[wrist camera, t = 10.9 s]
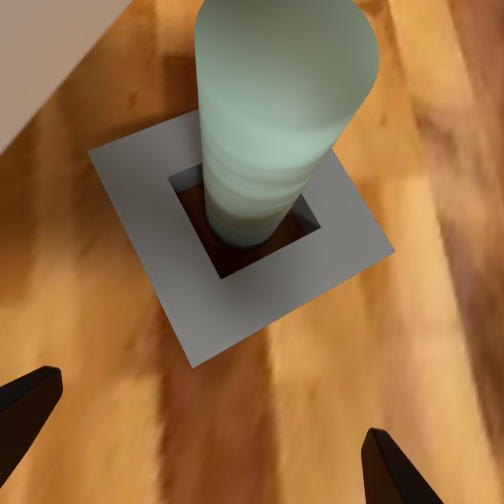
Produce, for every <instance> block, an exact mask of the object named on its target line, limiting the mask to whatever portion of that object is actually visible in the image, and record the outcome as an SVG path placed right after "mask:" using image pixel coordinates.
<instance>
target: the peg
mask: <svg viewBox="0 0 504 504" xmlns="http://www.w3.org/2000/svg"><path fill="white" fill-rule="evenodd" d="M194 42H195V57H196V72H197V87H198V102H199V118H200V133H201V148H202V163H203V178H204V193H205V208H206V222H207V227H208V230H209V232H210V234H211V236H212V237H213V238H214V240H215V241H216V242H217V243H218V244H220V245H221V246H223V247H224V248H226V249H228V250H231V251H235V252H249V251H253V250H256V249H258V248H260V247H261V246H263V245H264V244H265V243H266V242H267V241H268V240H269V239H270V237H271V236H272V235H273V233H274V232H275V230H276V229H277V227H278V226H279V224H280V223H281V221H282V220H283V218H284V217H285V215H286V214H287V213H288V211H289V210H290V208H291V207H292V205H293V204H294V202H295V201H296V199H297V198H298V196H299V195H300V194H301V192H302V191H303V189H304V188H305V186H306V185H307V183H308V182H309V180H310V179H311V177H312V176H313V175H314V173H315V172H316V170H317V169H318V167H319V166H320V164H321V163H322V161H323V160H324V158H325V157H326V156H327V154H328V153H329V151H330V150H331V148H332V147H333V145H334V144H335V142H336V141H337V139H338V138H339V136H340V135H341V134H342V132H343V131H344V129H345V128H346V126H347V125H348V123H349V122H350V120H351V119H352V117H353V116H354V115H355V113H356V112H357V110H358V109H359V107H360V106H361V104H362V103H363V101H364V100H365V98H366V97H367V96H368V94H369V92H370V90H371V89H372V87H373V85H374V82H375V80H376V77H377V72H378V68H379V52H378V45H377V41H376V37H375V35H374V32H373V30H372V27H371V26H370V24H369V22H368V20H367V18H366V17H365V16H364V14H363V13H362V11H361V10H360V9H359V8H358V7H357V5H356V4H355V3H354V2H353V1H352V0H205V1H204V2H203V4H202V6H201V8H200V10H199V12H198V15H197V18H196V23H195V30H194Z"/></svg>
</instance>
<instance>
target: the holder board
mask: <svg viewBox="0 0 504 504" xmlns="http://www.w3.org/2000/svg"><path fill="white" fill-rule="evenodd" d="M87 153H88V155H89V157H90V159H91V161H92V163H93V165H94V167H95V170H96V172H97V174H98V176H99V178H100V180H101V182H102V184H103V186H104V188H105V190H106V192H107V194H108V196H109V198H110V200H111V202H112V204H113V206H114V208H115V210H116V212H117V215H118V217H119V219H120V221H121V223H122V225H123V227H124V229H125V231H126V233H127V235H128V237H129V239H130V241H131V243H132V245H133V247H134V249H135V251H136V253H137V255H138V257H139V260H140V262H141V264H142V266H143V268H144V270H145V272H146V274H147V276H148V278H149V280H150V282H151V284H152V286H153V288H154V290H155V292H156V294H157V296H158V298H159V300H160V302H161V305H162V307H163V309H164V311H165V313H166V315H167V317H168V319H169V321H170V323H171V325H172V327H173V329H174V331H175V333H176V335H177V337H178V339H179V341H180V343H181V345H182V347H183V349H184V352H185V354H186V356H187V358H188V360H189V362H190V364H191V366H192V368H194V367H196V366H198V365H199V364H201V363H203V362H205V361H206V360H208V359H210V358H211V357H213V356H215V355H217V354H218V353H220V352H222V351H224V350H225V349H227V348H229V347H231V346H232V345H234V344H236V343H238V342H239V341H241V340H243V339H245V338H246V337H248V336H250V335H252V334H253V333H255V332H257V331H258V330H260V329H262V328H264V327H265V326H267V325H269V324H271V323H272V322H274V321H276V320H278V319H279V318H281V317H283V316H285V315H286V314H288V313H290V312H292V311H293V310H295V309H297V308H298V307H300V306H302V305H304V304H305V303H307V302H309V301H311V300H312V299H314V298H316V297H318V296H319V295H321V294H323V293H325V292H326V291H328V290H330V289H332V288H333V287H335V286H337V285H339V284H340V283H342V282H344V281H345V280H347V279H349V278H351V277H352V276H354V275H356V274H358V273H359V272H361V271H363V270H365V269H366V268H368V267H370V266H372V265H373V264H375V263H377V262H379V261H380V260H382V259H384V258H385V257H387V256H389V255H391V254H392V253H394V252H396V251H395V250H394V248H393V247H392V245H391V243H390V242H389V240H388V238H387V237H386V235H385V234H384V232H383V230H382V229H381V227H380V226H379V224H378V222H377V221H376V219H375V218H374V216H373V214H372V213H371V211H370V209H369V208H368V206H367V205H366V203H365V201H364V200H363V198H362V197H361V195H360V193H359V192H358V190H357V189H356V187H355V185H354V184H353V182H352V181H351V179H350V177H349V176H348V174H347V172H346V171H345V169H344V168H343V166H342V164H341V163H340V161H339V160H338V158H337V156H336V155H335V153H334V152H333V150H332V148H331V150H330V151H329V153H328V154H327V156H326V157H325V158H324V160H323V161H322V163H321V164H320V166H319V167H318V169H317V170H316V172H315V173H314V175H313V176H312V177H311V179H310V180H309V182H308V183H307V185H306V186H305V188H304V189H303V191H302V192H301V194H300V195H299V196H298V198H297V199H296V201H295V202H294V204H293V205H292V207H291V210H292V211H293V213H294V215H295V217H296V218H297V220H298V222H299V223H300V225H301V227H302V229H303V230H304V232H305V234H306V236H305V237H303V238H301V239H299V240H297V241H295V242H293V243H291V244H289V245H287V246H285V247H283V248H281V249H279V250H278V251H276V252H274V253H272V254H270V255H268V256H266V257H264V258H262V259H260V260H258V261H256V262H254V263H252V264H251V265H249V266H247V267H245V268H243V269H241V270H239V271H237V272H235V273H233V274H231V275H229V276H227V277H225V278H224V279H222V280H221V279H220V277H219V275H218V273H217V271H216V269H215V268H214V266H213V264H212V262H211V260H210V258H209V256H208V254H207V252H206V250H205V248H204V247H203V245H202V243H201V241H200V239H199V237H198V235H197V233H196V231H195V229H194V228H193V226H192V224H191V222H190V220H189V218H188V216H187V214H186V212H185V210H184V208H183V207H182V205H181V203H180V201H179V199H178V197H177V195H176V194H177V193H179V192H181V191H184V190H186V189H188V188H191V187H193V186H195V185H197V184H200V183H202V182H204V178H203V163H202V148H201V133H200V118H199V109H197V110H194V111H192V112H189V113H186V114H184V115H181V116H178V117H176V118H173V119H170V120H168V121H165V122H162V123H160V124H157V125H155V126H152V127H149V128H147V129H144V130H141V131H139V132H136V133H133V134H131V135H128V136H126V137H123V138H120V139H118V140H115V141H112V142H110V143H107V144H104V145H102V146H99V147H97V148H94V149H91V150H89V151H87Z"/></svg>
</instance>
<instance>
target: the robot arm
mask: <svg viewBox="0 0 504 504" xmlns="http://www.w3.org/2000/svg"><path fill="white" fill-rule="evenodd" d="M62 392H63V384H62V375H61V370H60V369H59V368H57V367H52V366H43V367H41V368H39V369H37V370H34V371H32V372H30V373H28V374H26V375H24V376H22V377H20V378H18V379H16V380H14V381H12V382H9V383H7V384H5V385H3V386H1V387H0V488H1V487H2V486H3V484H4V483H5V481H6V480H7V479H8V477H9V476H10V475H11V473H12V472H13V471H14V469H15V468H16V466H17V465H18V464H19V462H20V461H21V460H22V458H23V457H24V455H25V454H26V453H27V451H28V450H29V448H30V447H31V445H32V443H33V442H34V440H35V439H36V437H37V435H38V434H39V432H40V430H41V429H42V427H43V425H44V424H45V422H46V421H47V419H48V417H49V416H50V414H51V412H52V411H53V409H54V407H55V406H56V404H57V403H58V401H59V399H60V397H61V395H62ZM361 460H362V469H363V479H364V489H365V498H366V504H444V503H443V502H442V501H441V499H440V498H439V497H438V495H437V494H436V493H435V492H434V490H433V489H432V488H431V487H430V485H429V484H428V483H427V482H426V480H425V479H424V478H423V477H422V475H421V474H420V473H419V472H418V470H417V469H416V468H415V467H414V465H413V464H412V463H411V461H410V460H409V459H408V458H407V456H406V455H405V454H404V453H403V451H402V450H401V449H400V448H399V446H398V445H397V444H396V443H395V441H394V440H393V439H392V438H391V436H390V435H389V434H388V433H387V432H386V431H385V430H383V429H378V428H373V427H372V428H370V429H369V430H368V432H367V435H366V437H365V440H364V443H363V445H362V449H361Z"/></svg>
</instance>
